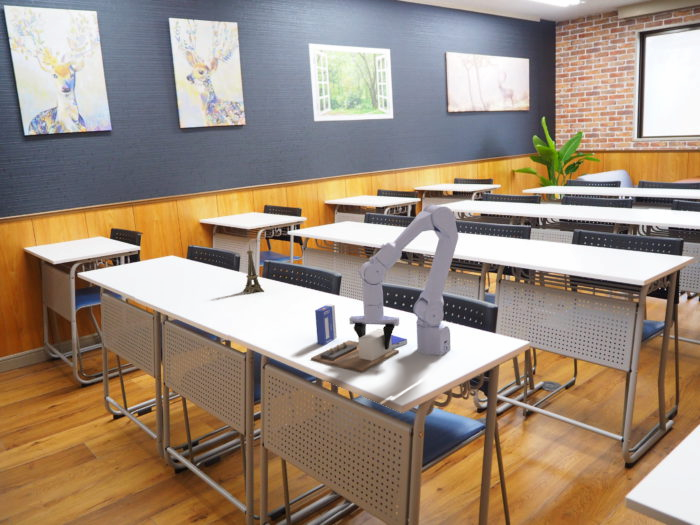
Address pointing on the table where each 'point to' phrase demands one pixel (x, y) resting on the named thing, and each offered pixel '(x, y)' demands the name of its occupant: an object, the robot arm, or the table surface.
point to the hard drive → (397, 341)
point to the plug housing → (373, 345)
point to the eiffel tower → (252, 276)
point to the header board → (350, 357)
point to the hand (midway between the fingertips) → (375, 347)
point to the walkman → (325, 324)
